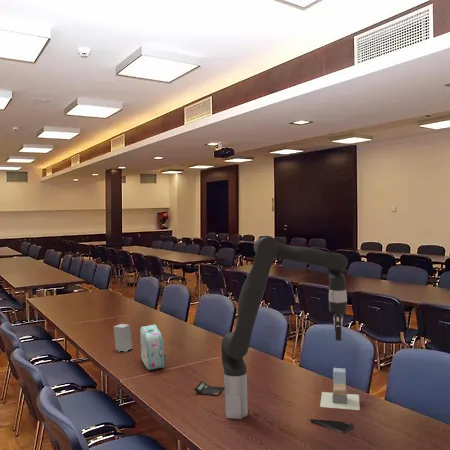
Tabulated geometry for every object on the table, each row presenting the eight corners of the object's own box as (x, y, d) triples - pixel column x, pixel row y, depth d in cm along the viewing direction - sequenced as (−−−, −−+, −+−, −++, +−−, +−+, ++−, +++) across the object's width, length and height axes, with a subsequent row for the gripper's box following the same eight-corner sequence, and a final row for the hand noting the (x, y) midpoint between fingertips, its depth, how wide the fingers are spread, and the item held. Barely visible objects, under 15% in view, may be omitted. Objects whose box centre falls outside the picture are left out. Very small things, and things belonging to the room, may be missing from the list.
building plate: (359, 411, 187) (359, 410, 187) (319, 408, 191) (319, 406, 191) (358, 396, 202) (358, 394, 202) (322, 393, 206) (321, 391, 206)
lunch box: (167, 371, 242) (166, 330, 241) (148, 373, 238) (146, 333, 238) (157, 356, 267) (155, 320, 266) (139, 359, 263) (138, 322, 263)
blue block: (345, 384, 193) (345, 372, 193) (333, 383, 195) (333, 371, 194) (345, 379, 198) (345, 368, 198) (333, 379, 199) (333, 367, 199)
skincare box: (132, 350, 281) (131, 324, 281) (124, 353, 275) (123, 327, 275) (122, 348, 286) (121, 323, 285) (114, 351, 280) (113, 325, 279)
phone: (319, 413, 185) (353, 424, 175) (319, 416, 185) (353, 427, 175) (308, 420, 179) (343, 431, 169) (309, 422, 179) (343, 434, 169)
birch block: (345, 395, 193) (345, 384, 193) (333, 395, 195) (333, 383, 194) (345, 391, 198) (345, 380, 198) (333, 390, 199) (333, 379, 199)
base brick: (347, 404, 193) (347, 396, 193) (332, 402, 194) (332, 395, 194) (347, 398, 199) (347, 391, 198) (333, 397, 200) (332, 390, 200)
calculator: (218, 397, 207) (218, 390, 207) (194, 394, 210) (194, 388, 210) (224, 389, 216) (224, 382, 215) (201, 387, 219) (201, 380, 219)
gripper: (329, 296, 203) (330, 332, 204) (328, 303, 189) (328, 341, 190) (346, 297, 201) (347, 333, 202) (346, 303, 187) (347, 342, 188)
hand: (338, 337), depth 196 cm, fingers open, 8 cm apart
